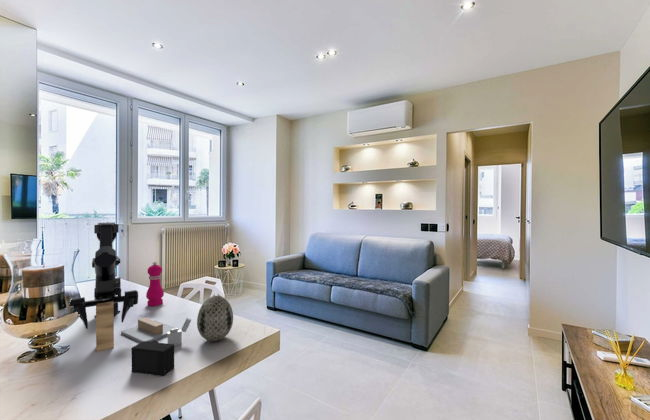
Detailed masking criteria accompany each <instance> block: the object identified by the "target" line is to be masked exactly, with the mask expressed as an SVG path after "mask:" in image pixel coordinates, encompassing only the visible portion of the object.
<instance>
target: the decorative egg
mask: <svg viewBox="0 0 650 420" xmlns="http://www.w3.org/2000/svg"><path fill="white" fill-rule="evenodd" d="M196 324H197V325H196V326H197V330H198V331H197V332H198V333H199V334H200V336H201V337H202V338H203V339H204V340H206V341H208V342H217V341H220V340H223V339H224V338H225V337H226V336H228V334H230V332H231V329H232V328H233V324H234V313H233V308H232V306H231V304H230V303H229V301H228V299H226V298H224V297H223V296H222V295H221V296H220V295H214V296H210V297H209V298H207V299H206V300H205V301H204V302H203V303H202V305H201V306H200V308H199V310H198V314H197V319H196Z"/></svg>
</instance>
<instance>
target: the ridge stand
mask: <svg viewBox="0 0 650 420" xmlns="http://www.w3.org/2000/svg"><path fill="white" fill-rule="evenodd" d="M174 328H176V327H175V326H171V325H170V324H167V323H164V322H161V321H158V320H156V319H150V318H147V317H141V318H139V319H137V325H136V326H132V327H129V328H127V329H123V330H121V331H120V334H121V335H122V336H125V337H127V338H129V339H131V340H134V341H136V342H138V343H141V342H143V341H148V342H150V341H152V340H155V341H158V340H160V339H163V338H166V337H168V335H167V332H170V330H171V329H174ZM178 330H180V329H179V328H178Z"/></svg>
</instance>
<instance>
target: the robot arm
mask: <svg viewBox="0 0 650 420" xmlns="http://www.w3.org/2000/svg"><path fill="white" fill-rule="evenodd" d="M93 227H94V228H93V229H94V230H93V232H94V234H96V238H97V240H98V241H99V248H98V249H97V250H96V251H95V255H94V257H93V258H92V259H91V261H92V262H91V266H92V269H94V272H95V273H94V274H95V285H94V286H95V287H94V291H93V292H94V293H93V297H94V299H92V300H86V299H85V297H77V298H71V299H72V300H71V299H70V300H71V302H70V305H69V306H74V311H77V312H78V314H80V316H78V317H79V318H80V320H81V321H82V323H83V325H84V327H85V329H86V330H88V329H89V322H88V315H87V309H86V308H91V307H96V304H99V303H106V302H112V301H113V304H114V316H115V315H116V314H119V313H120V312H121V317H120V318H121V321H120V322H121V323H124V321H125V319H126V316H127V313H128V312H129V310H130V309H131V308H133V307H134V306H135V305H137V304H138V303H139V291H138V290H137V289H134V290H129V291H128V290H127V291H124V295H122V288H121V284H122V283H121V282H122V281H121V277H116V268H117V266H119V264H121V258H120V257H119V256H118V255H117V251H116V249H115V248H114V247H113V243H114V241H115V240H116V238H117V235H118V234H119V232H120V231H119V229H120V228H119V224H118V223H116V222H114V221H113V222H112V221H111V222H98V223H97V224H94V226H93ZM119 303H122V310H119ZM93 317H94V318H96V314H95V315H94V316H93Z"/></svg>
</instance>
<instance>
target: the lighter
mask: <svg viewBox="0 0 650 420" xmlns="http://www.w3.org/2000/svg"><path fill="white" fill-rule="evenodd" d="M191 322H192V319H191V318H189V317H186V319H185V321H184V323H183V325H182V327H181V329H179V328H178V327H175V328H174V329H171V330H170V332H167V335H168V336H167V344H174V347H175V346H179V345H182V343H183V342H182V336H183V335H182V332H184V333H186V332H187V330H188V328H189V326H190V324H191ZM178 329H179V330H178Z"/></svg>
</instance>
